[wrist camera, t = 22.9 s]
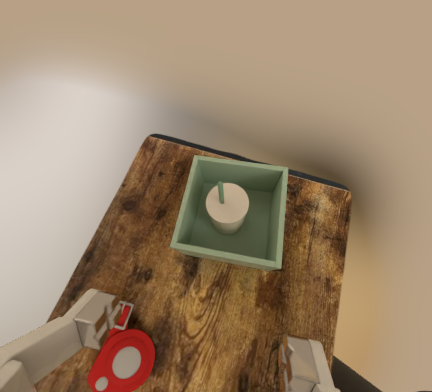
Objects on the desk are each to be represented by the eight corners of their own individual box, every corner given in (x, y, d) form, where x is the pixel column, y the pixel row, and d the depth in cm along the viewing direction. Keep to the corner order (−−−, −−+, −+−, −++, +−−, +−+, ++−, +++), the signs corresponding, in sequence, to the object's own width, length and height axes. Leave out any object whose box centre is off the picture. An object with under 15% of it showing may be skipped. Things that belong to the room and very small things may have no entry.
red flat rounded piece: (168, 363, 31) (102, 427, 26) (166, 352, 35) (109, 406, 30) (124, 294, 32) (56, 346, 28) (128, 292, 36) (68, 336, 32)
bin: (275, 191, 41) (288, 167, 32) (268, 271, 36) (281, 268, 27) (201, 180, 43) (194, 154, 34) (183, 254, 38) (169, 247, 29)
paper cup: (246, 206, 40) (256, 164, 25) (241, 239, 37) (250, 213, 23) (214, 201, 41) (206, 157, 26) (208, 233, 38) (194, 204, 23)
